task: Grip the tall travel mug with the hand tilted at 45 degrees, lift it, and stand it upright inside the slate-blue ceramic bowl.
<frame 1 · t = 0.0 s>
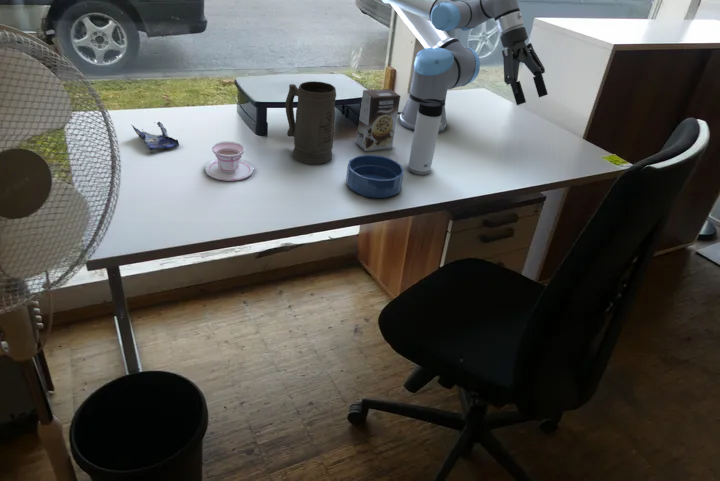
hand: (532, 100, 170), 15 cm above the table, tool tilted 35°, fingers open, 13 cm apart
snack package: (156, 144, 151), on the table
travel mug: (419, 170, 156), on the table
beer stein: (305, 154, 156), on the table
bowl: (373, 186, 145), on the table
teacup: (229, 171, 143), on the table
cookie box: (374, 146, 166), on the table
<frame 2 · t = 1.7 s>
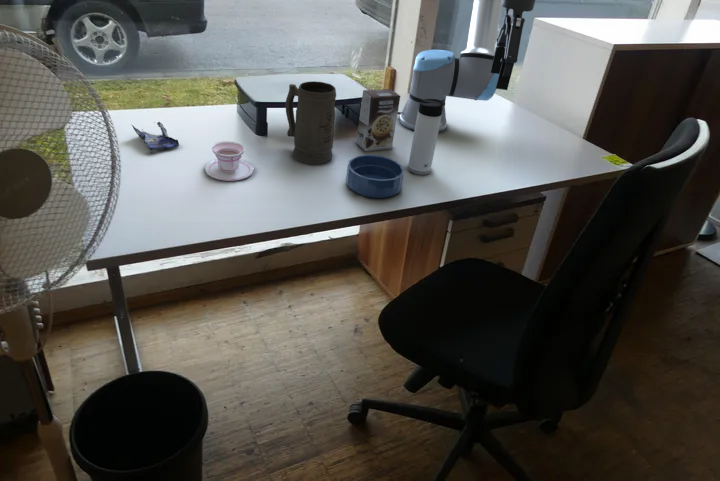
hand: (498, 80, 142), 27 cm above the table, tool pointing down, fingers open, 13 cm apart
nothing on the table moved.
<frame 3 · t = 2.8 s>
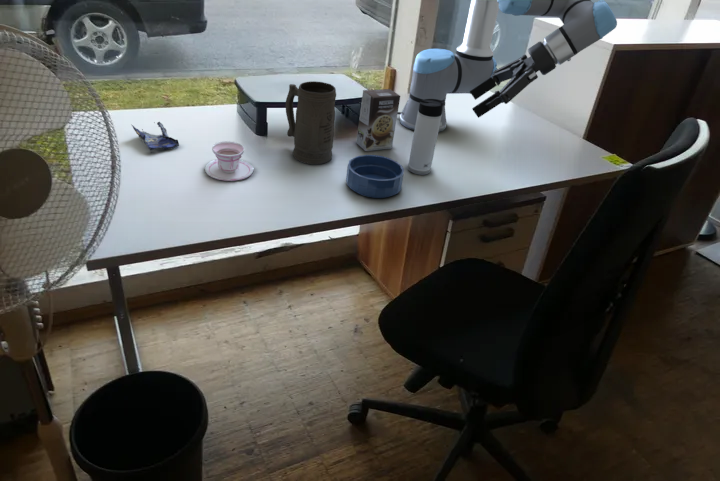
hand: (473, 104, 144), 21 cm above the table, tool tilted 45°, fingers open, 13 cm apart
nothing on the table moved.
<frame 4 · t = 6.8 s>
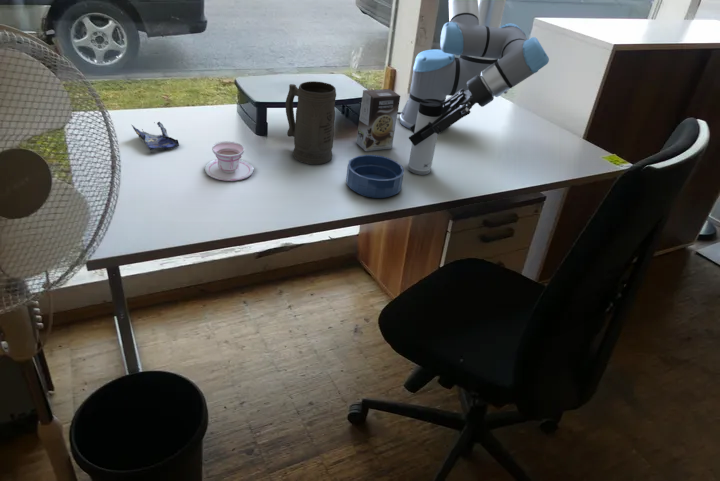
hand: (412, 136, 151), 9 cm above the table, tool tilted 45°, fingers closed on travel mug, 6 cm apart
travel mug: (419, 170, 156), on the table, touching gripper
everything else where it was.
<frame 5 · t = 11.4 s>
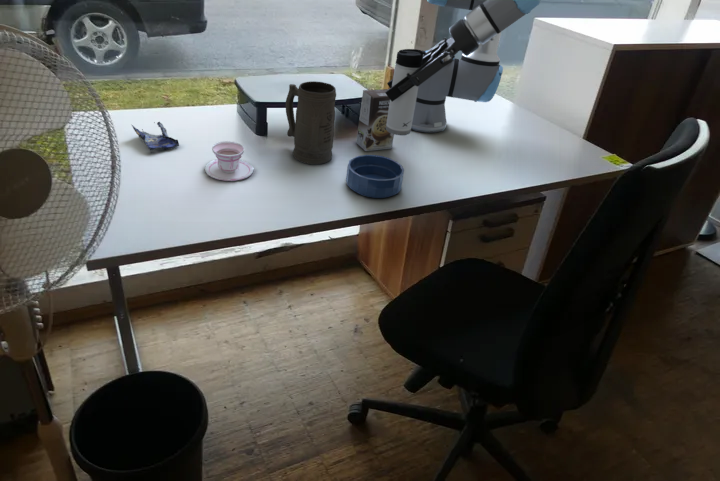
hand: (389, 92, 136), 23 cm above the table, tool tilted 45°, fingers closed on travel mug, 6 cm apart
travel mug: (398, 131, 141), point 14 cm above the table, touching gripper
everything else where it was.
when the fingers open (10 cm above the table, at t = 16.2 s): travel mug stays where it is, resting on bowl.
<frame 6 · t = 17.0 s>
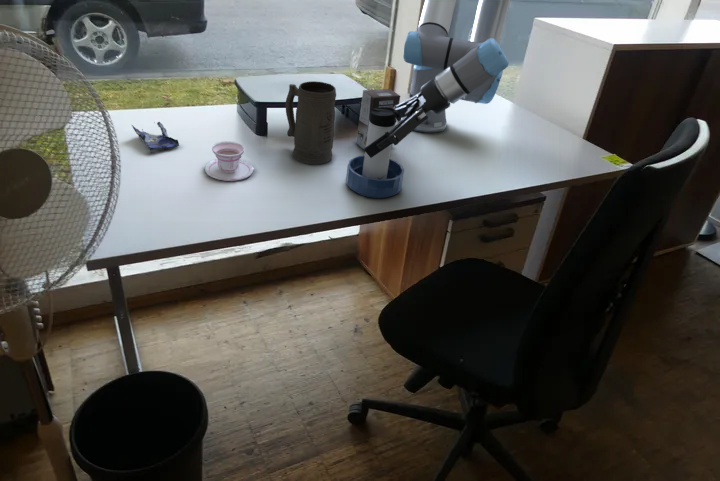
hand: (370, 141, 139), 12 cm above the table, tool tilted 45°, fingers open, 13 cm apart
travel mug: (373, 184, 145), point 1 cm above the table, touching bowl
everything else where it was.
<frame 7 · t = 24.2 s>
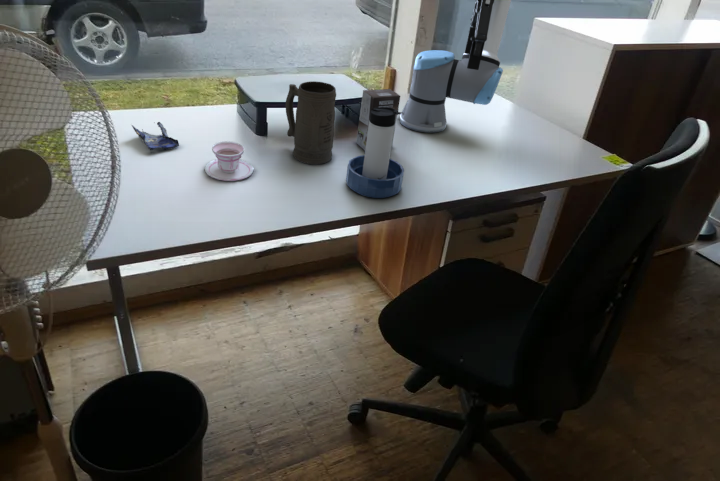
hand: (471, 61, 140), 31 cm above the table, tool pointing down, fingers open, 13 cm apart
nothing on the table moved.
at the end: travel mug 0.1 cm off-centre in the bowl, point 0.6 cm above the bowl's base; travel mug tilted 0°; the gripper is holding nothing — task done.
